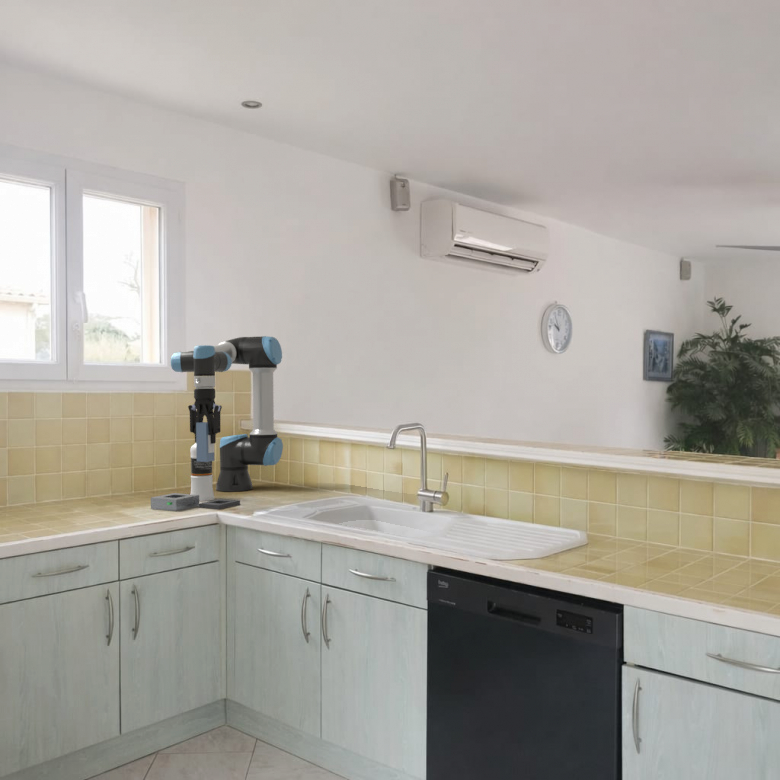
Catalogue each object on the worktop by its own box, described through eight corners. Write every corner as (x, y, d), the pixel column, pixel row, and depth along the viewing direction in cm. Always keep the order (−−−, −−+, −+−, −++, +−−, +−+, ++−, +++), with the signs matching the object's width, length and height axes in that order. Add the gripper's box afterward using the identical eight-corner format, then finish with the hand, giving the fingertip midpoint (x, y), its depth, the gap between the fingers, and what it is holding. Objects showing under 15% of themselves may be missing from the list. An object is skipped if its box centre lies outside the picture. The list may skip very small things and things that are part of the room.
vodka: (211, 499, 316) (210, 422, 315) (216, 502, 308) (216, 424, 307) (187, 501, 312) (186, 423, 311) (192, 504, 303) (191, 425, 303)
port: (174, 506, 299) (174, 493, 299) (199, 508, 294) (199, 495, 293) (149, 511, 288) (149, 497, 288) (174, 514, 282) (174, 500, 282)
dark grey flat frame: (220, 505, 300) (220, 498, 300) (240, 507, 296) (240, 500, 296) (199, 510, 290) (199, 503, 290) (218, 512, 286) (218, 505, 285)
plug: (204, 460, 295) (204, 422, 295) (214, 460, 293) (214, 422, 293) (196, 461, 291) (196, 422, 291) (206, 461, 289) (206, 422, 289)
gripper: (178, 388, 292) (179, 452, 292) (217, 388, 284) (218, 454, 285) (192, 387, 299) (193, 450, 299) (230, 387, 291) (231, 452, 291)
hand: (205, 452), depth 292 cm, fingers closed on plug, 4 cm apart
